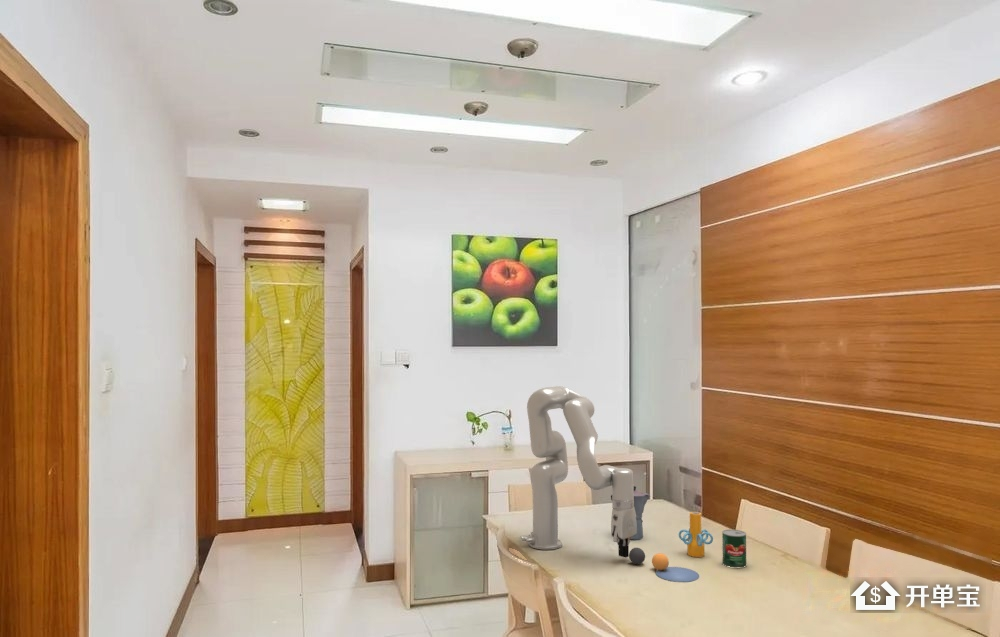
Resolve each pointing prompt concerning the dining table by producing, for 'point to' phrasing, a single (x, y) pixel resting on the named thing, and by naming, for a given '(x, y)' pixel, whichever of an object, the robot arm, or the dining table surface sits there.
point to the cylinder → (695, 536)
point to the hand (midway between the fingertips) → (623, 556)
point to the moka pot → (639, 511)
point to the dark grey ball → (637, 555)
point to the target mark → (678, 574)
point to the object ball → (660, 561)
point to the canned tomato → (734, 548)
